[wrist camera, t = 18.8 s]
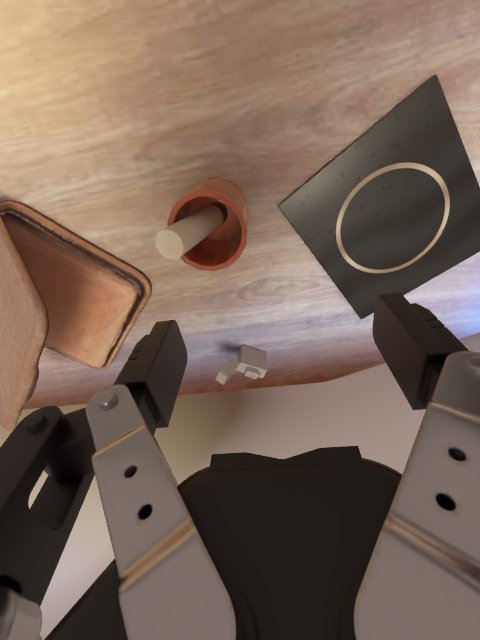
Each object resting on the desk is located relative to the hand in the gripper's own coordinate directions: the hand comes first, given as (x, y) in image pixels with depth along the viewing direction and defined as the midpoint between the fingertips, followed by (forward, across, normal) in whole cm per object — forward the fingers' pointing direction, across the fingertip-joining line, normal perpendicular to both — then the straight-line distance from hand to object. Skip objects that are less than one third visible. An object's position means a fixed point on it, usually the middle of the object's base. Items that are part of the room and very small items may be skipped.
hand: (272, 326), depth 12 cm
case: (+26, +30, +8) cm, 40 cm away
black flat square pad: (+26, -15, +5) cm, 30 cm away
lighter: (+26, +6, +22) cm, 34 cm away
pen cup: (+26, +5, 0) cm, 27 cm away
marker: (+25, +5, 0) cm, 26 cm away
